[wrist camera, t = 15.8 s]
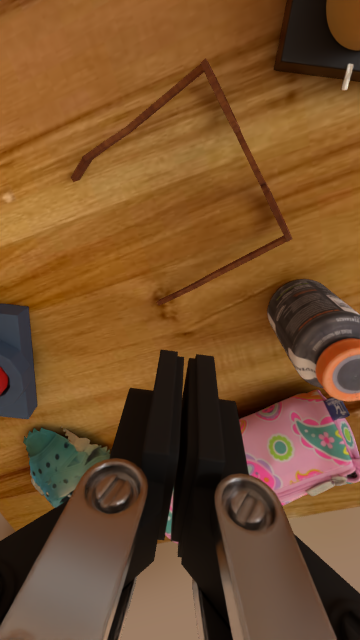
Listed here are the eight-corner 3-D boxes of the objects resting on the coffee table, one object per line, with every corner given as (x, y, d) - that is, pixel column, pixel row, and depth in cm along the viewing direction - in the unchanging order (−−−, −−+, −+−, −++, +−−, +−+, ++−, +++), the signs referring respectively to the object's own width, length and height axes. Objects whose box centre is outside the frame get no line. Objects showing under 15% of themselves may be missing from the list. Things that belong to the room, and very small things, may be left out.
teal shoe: (115, 533, 44) (106, 574, 39) (13, 435, 38) (-13, 470, 33) (171, 506, 42) (169, 547, 37) (72, 399, 36) (55, 431, 31)
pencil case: (319, 365, 32) (363, 430, 24) (349, 426, 36) (397, 502, 27) (144, 442, 37) (131, 518, 29) (183, 490, 40) (182, 570, 32)
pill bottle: (266, 338, 31) (304, 418, 21) (266, 281, 29) (308, 339, 19) (328, 333, 31) (398, 412, 21) (333, 274, 29) (415, 329, 18)
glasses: (287, 229, 27) (307, 239, 22) (159, 304, 30) (154, 326, 26) (210, 67, 23) (215, 39, 18) (69, 174, 26) (43, 174, 21)
